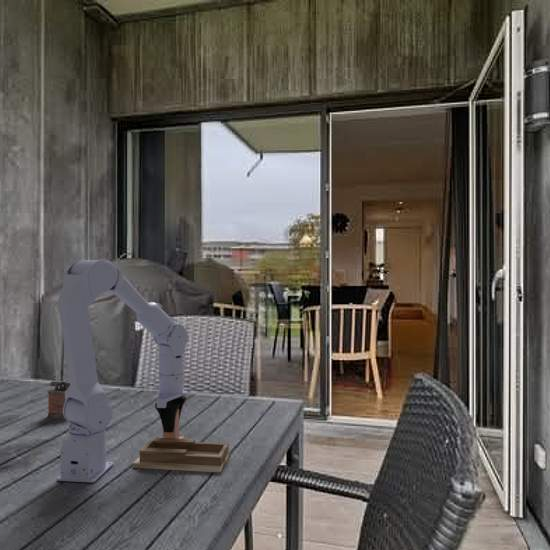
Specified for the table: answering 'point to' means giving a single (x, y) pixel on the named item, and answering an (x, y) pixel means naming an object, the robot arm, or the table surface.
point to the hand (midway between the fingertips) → (171, 429)
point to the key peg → (176, 430)
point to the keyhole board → (182, 455)
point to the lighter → (57, 398)
